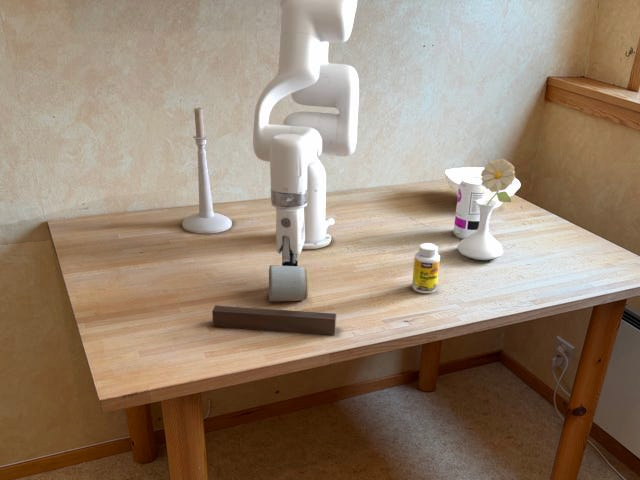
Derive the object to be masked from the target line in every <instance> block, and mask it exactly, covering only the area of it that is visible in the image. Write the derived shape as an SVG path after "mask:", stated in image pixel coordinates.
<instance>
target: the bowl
mask: <svg viewBox="0 0 640 480" xmlns="http://www.w3.org/2000/svg"><path fill="white" fill-rule="evenodd" d="M482 170H484V167H482V166H481V167H478V166H477V167H475V166H473V167H454V168H448V169H445V171H444V176H445V179H446V181H447V183H448V185H449V187H450V188H451V189H452V190H453V191H454V192H455V193H456V196H457V197H458V190H459V184H460V183H461V181H462V179H463V178H464V177H481V178H482V176H481V173H482ZM520 188H521V181H520V180H519V179H518V178H516V177H515V179H514V180H513V181H512V184H509V187H508V188H507V189H506V190H503V191H505V192H507V194H508V195H509V197H512V196H514V195H515V193H516V192H517V191H518V190H519V189H520ZM499 192H502V191H501V190H500V191H499ZM495 194H496V192H490V196H491V197H490V199H491V198H492V197H493V196H494V195H495ZM492 200H494V201H496V202H497V205H496V206H495V207H494V208H493V209H497V208H499V207H500V206H501V205H502V204H503V203H504V202H500V201H499V200H498V197H497V195H496V196H495V197H494V198H493V199H492Z"/></svg>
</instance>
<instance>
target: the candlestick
mask: <svg viewBox="0 0 640 480" xmlns="http://www.w3.org/2000/svg"><path fill="white" fill-rule="evenodd" d="M193 112H194V124H195V135H193V136H192V138H193V139H194V140H195V142H194V143H195V145H196V146H197V176H198V177H197V179H198V212H197V213H194V214H191V215H189V216H187V217H185V219H183V221H182V223H181V226H182V228H183V229H184V231H187V232H189V233H194V234H203V235H204V234H209V235H210V234H217V233H222V232H224V231H227V230H229V229H231V228H232V225H233V223H232V220H231V218H229V216H226V215H224V214H221V213H218V212H214V207H213V200H212V191H211V183H210V175H209V168H208V160H207V151H206V148H205V147H206V145H207V139H208V138H209V136H207V135H205V123H204V112H203V108H200V107H199V106H197V107H196V108H194V111H193Z"/></svg>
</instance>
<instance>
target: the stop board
mask: <svg viewBox="0 0 640 480" xmlns="http://www.w3.org/2000/svg"><path fill="white" fill-rule="evenodd" d="M211 313H212V314H211V315H212V316H211V317H212V326H213V328H226V329H227V328H228V329H238V330H239V329H241V330H255V331H269V332H270V331H271V332H281V333H282V332H285V333H299V334H313V335H328V336H335V334H336V330H337V313H334V312H333V313H332V312H318V311H305V310H303V311H302V310H291V309H290V310H287V309H275V308H259V307H258V308H257V307H245V306H231V305H230V306H229V305H218V304H217V305H214V307H213V308H212V312H211Z"/></svg>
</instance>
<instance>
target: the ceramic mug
mask: <svg viewBox="0 0 640 480" xmlns="http://www.w3.org/2000/svg"><path fill="white" fill-rule="evenodd" d="M309 286H310V285H309V271H308V269H307V268H306V267H303V266H299V265H298V266H282V265H281V264H279V265H278V264H270V265H269V268H268V298H269V302H271V303H272V302H301V301H305V300H307V298H308V296H309V288H310V287H309Z"/></svg>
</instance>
